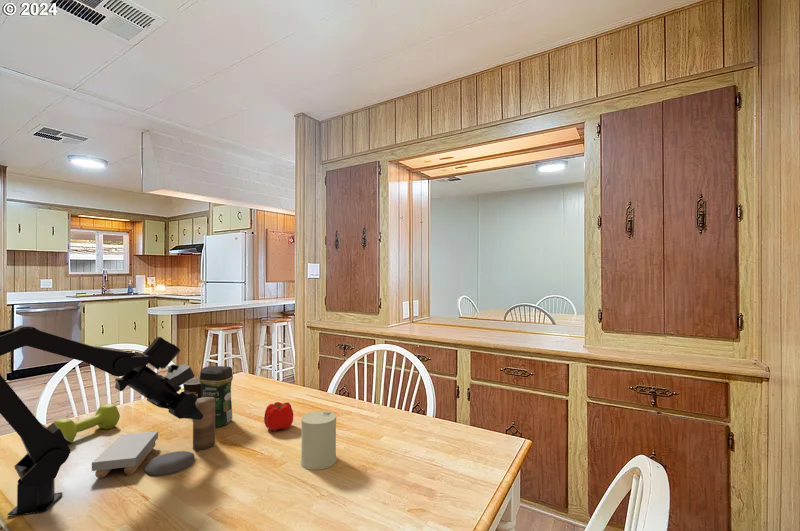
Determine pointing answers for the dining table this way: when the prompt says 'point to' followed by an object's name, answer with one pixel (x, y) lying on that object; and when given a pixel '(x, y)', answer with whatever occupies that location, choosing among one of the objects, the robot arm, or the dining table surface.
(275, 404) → the tomato
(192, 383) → the coffee mug
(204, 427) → the walnut roller
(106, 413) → the dumbbell
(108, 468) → the grey slab
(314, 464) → the can
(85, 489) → the dining table surface
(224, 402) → the coffee jar
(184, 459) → the dark grey flat disc
